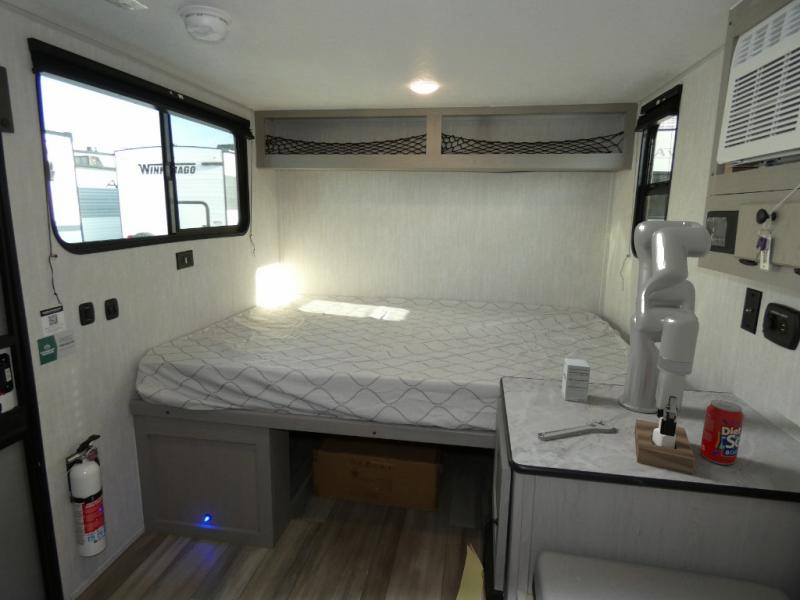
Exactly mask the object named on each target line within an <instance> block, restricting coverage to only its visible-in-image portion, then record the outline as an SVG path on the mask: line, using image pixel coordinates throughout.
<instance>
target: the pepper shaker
mask: <svg viewBox="0 0 800 600" xmlns="http://www.w3.org/2000/svg"><path fill="white" fill-rule="evenodd" d="M658 419H659V421H658V423H659V428H656V429H654V431H653V438H652V444H653V445H658V446H663V447H668V448H673V449H674V447H675V440H676V435H675V436H674V437H672V436H667V435H662V434H660V427H661V421H662V419H663V417H660V418H658Z"/></svg>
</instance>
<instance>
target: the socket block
mask: <svg viewBox="0 0 800 600" xmlns="http://www.w3.org/2000/svg"><path fill="white" fill-rule="evenodd" d="M656 428H659V422H652V421H648V420H642V419H635V426H634V441H635V444H634V445H635V454H636V463H639V464H642V465H643V464H644V465H647V466H652V467H657V468H662V469H665V470H670V471H674V472H679V473H682V474H688V475H693V471H694V466H695V465H694V464H695V456H694V454H693V450H692V447H691V445H690V440H689V438H688V434H687V432H686V428H685V427H681V426H676V430H675V435H676V440H675V447H674V449H673V448H668V447H663V446H658V445H653V444H652V438H653V431H654V429H656Z"/></svg>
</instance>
